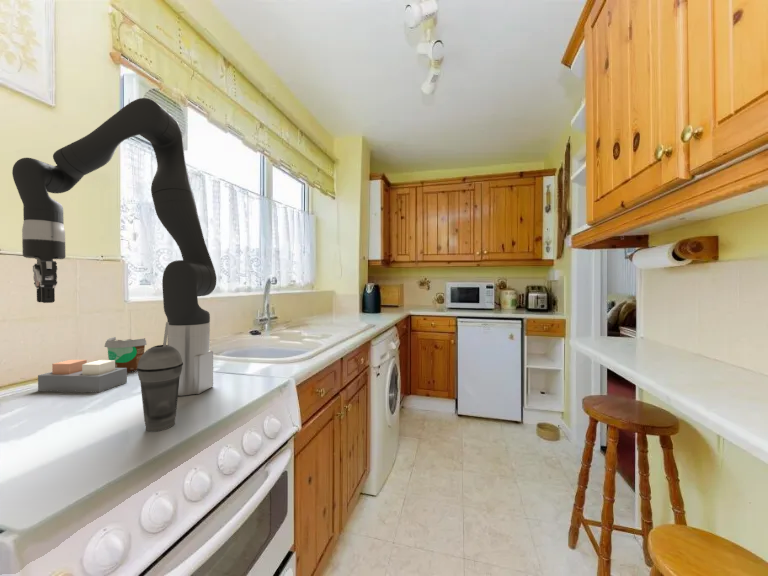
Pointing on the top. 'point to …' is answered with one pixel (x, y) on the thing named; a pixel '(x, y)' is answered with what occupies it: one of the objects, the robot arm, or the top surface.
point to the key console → (81, 381)
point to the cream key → (98, 367)
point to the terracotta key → (68, 366)
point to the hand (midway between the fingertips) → (45, 302)
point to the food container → (125, 352)
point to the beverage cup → (160, 384)
